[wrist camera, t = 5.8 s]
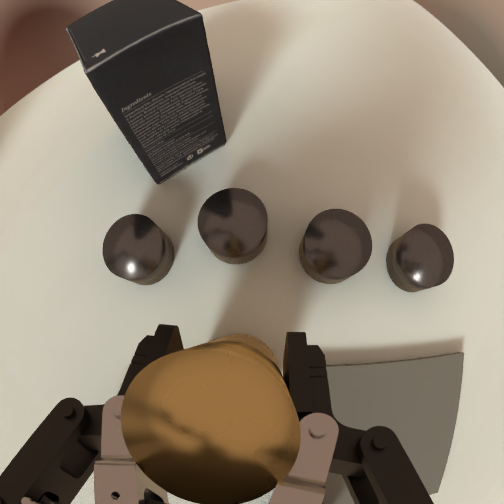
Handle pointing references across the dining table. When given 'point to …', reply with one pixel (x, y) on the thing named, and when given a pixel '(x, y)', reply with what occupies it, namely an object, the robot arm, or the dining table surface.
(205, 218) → the spacers
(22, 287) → the dining table surface
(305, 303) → the dining table surface
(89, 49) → the box
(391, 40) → the dining table surface
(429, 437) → the pad
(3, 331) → the dining table surface
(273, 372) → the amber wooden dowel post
